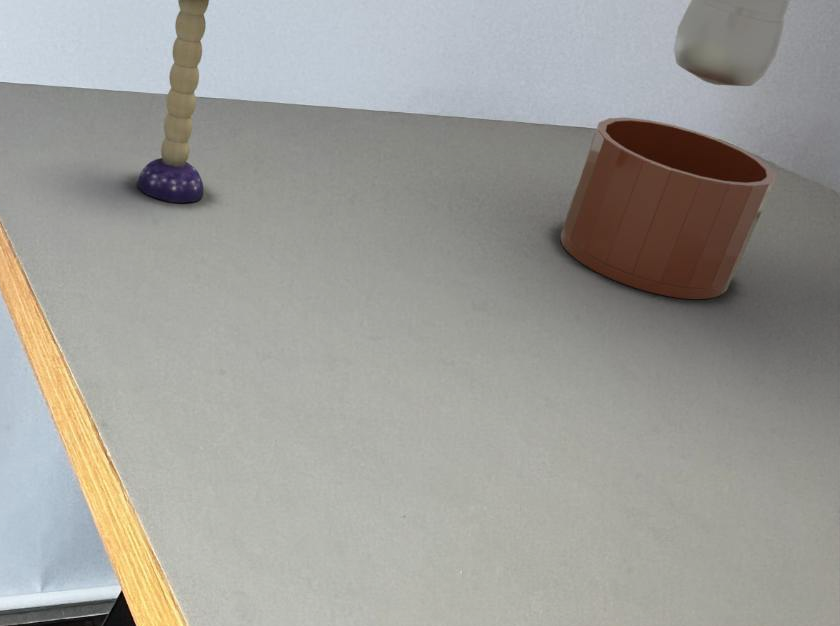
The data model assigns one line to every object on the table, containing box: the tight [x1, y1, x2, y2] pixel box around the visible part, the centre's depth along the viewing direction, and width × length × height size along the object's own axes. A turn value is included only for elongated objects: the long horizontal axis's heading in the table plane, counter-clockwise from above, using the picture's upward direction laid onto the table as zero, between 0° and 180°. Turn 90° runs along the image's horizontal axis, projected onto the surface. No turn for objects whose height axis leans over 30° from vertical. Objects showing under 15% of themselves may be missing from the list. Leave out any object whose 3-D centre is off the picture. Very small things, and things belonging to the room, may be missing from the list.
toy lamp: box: [137, 0, 210, 203], centre depth 75 cm, size 5×5×17 cm
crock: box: [560, 117, 776, 300], centre depth 86 cm, size 12×12×8 cm
